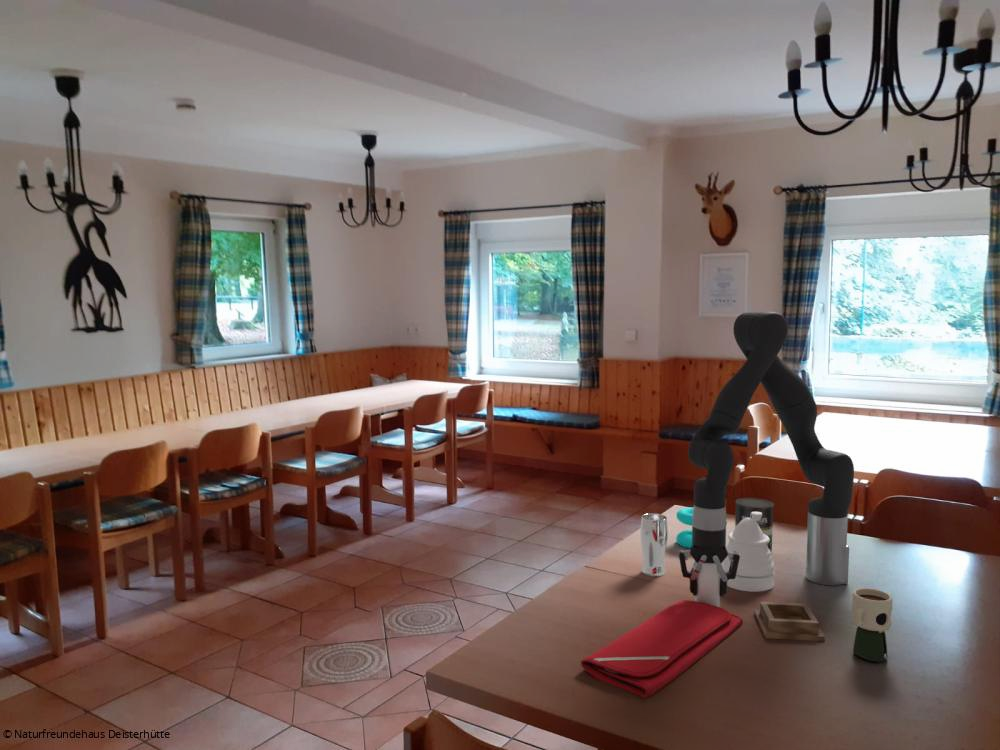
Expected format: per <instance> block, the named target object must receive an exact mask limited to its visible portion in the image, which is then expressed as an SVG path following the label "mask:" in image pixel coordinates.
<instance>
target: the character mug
mask: <svg viewBox="0 0 1000 750" xmlns="http://www.w3.org/2000/svg"><path fill="white" fill-rule="evenodd" d="M851 602H852V603H851V604H852V606H851V619H852V623H853V624H854V625H855V626H857V628H856V631H855V636H854V643H853V649H852V652H853V653H854V654H855V655H857V656H859V657H861V658H863V659H865V660H867V661H870V662H871V661H872V662H884V661H885V655H886V659H888V645H887V635H886V632H887V631H889V630H890V629H891V627H892V624H893V621H892V618H891V616H892V611H893V597H892V595H891V594H890V593H888V592H886V591H884V590H881V589H877V588H871V587H858V588H855V589H854V590H853V591H852V601H851Z"/></svg>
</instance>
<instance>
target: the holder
mask: <svg viewBox="0 0 1000 750" xmlns="http://www.w3.org/2000/svg"><path fill="white" fill-rule="evenodd" d="M753 615H754V617H755V619H756V621H757V623H758V626H759V627H760V630H761V632H762V634H763V636H764V638H765V639H774V640H775V639H776V640H792V641H793V640H797V641H813V642H814V641H815V642H825V641H826V636H825V634H824V633H823V631H822V630H821V628H820V622H819V621H818V619H817V617H816V616H815V615H814V613H813V612H812V610H811V608H810V607H809V605H808V604H807V603H798V602H797V603H796V602H795V603H794V602H774V601H773V602H772V601H759V610H758V609H757V610H754V613H753Z"/></svg>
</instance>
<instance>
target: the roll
mask: <svg viewBox="0 0 1000 750" xmlns="http://www.w3.org/2000/svg"><path fill="white" fill-rule="evenodd" d="M700 564H701V563H700ZM696 565H697V563H696ZM720 578H721V576H720V574H719V572H718V569H717V564H715V563H704V564H703V566H702V568H701V570H700V572H699V573H698V575H697V577H696V580H697V594H696V596H694V597H695V599H694V601H696V602H702V603H706V604H710V605H714V606H717V607H720V608H721V596H720Z"/></svg>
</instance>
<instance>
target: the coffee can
mask: <svg viewBox="0 0 1000 750" xmlns="http://www.w3.org/2000/svg"><path fill="white" fill-rule="evenodd" d="M774 507H775V504H774V502H772V501H771V500H767V499H763V498H757V497H741V498H738V499H736V500H735V520H734V522H735V523H734V529H735V528H736V527H737V525H738V524H739V523H740V521H742V520H743V519H745V518H752V514H751V512H761V513H762V517H761V519H760V520H758V521H756V523H757V524H758V525H759V527H760V529H761V531H762V533H763V534H765V535H767V536H768V537H769V539H770V541H769V543H767V546H768V549H769V550H770V552H771V553H770V555H771V556H772V553H773V531H774V529H773V524H774V523H773V522H774Z"/></svg>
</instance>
